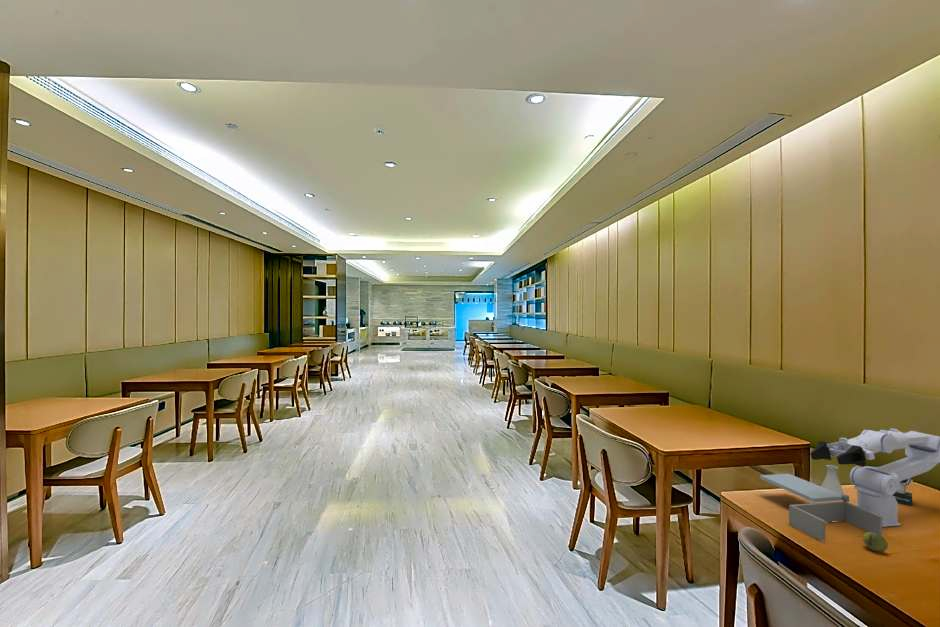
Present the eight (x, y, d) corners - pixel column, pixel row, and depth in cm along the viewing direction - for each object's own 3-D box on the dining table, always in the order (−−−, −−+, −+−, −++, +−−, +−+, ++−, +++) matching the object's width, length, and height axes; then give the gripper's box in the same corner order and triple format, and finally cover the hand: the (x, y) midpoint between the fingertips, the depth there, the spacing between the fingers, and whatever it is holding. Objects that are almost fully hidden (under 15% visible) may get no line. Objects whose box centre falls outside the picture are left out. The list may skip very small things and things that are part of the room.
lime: (860, 545, 124) (861, 527, 124) (883, 549, 122) (883, 530, 122) (866, 552, 120) (867, 534, 120) (890, 557, 118) (890, 538, 118)
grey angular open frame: (844, 520, 139) (844, 501, 139) (882, 537, 128) (882, 516, 128) (789, 524, 136) (789, 504, 136) (822, 542, 125) (823, 521, 125)
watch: (889, 502, 153) (889, 470, 153) (890, 496, 159) (890, 465, 159) (912, 507, 149) (912, 474, 149) (912, 501, 155) (912, 469, 155)
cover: (850, 501, 138) (850, 496, 138) (816, 503, 136) (816, 499, 136) (791, 476, 159) (791, 473, 159) (760, 478, 157) (760, 474, 157)
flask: (849, 499, 155) (850, 470, 156) (826, 497, 157) (826, 468, 157) (837, 491, 163) (837, 463, 163) (814, 489, 164) (815, 462, 164)
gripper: (829, 431, 144) (798, 441, 140) (880, 437, 130) (848, 448, 126) (834, 454, 143) (803, 464, 139) (887, 462, 129) (854, 473, 126)
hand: (825, 458), depth 133 cm, fingers open, 7 cm apart
